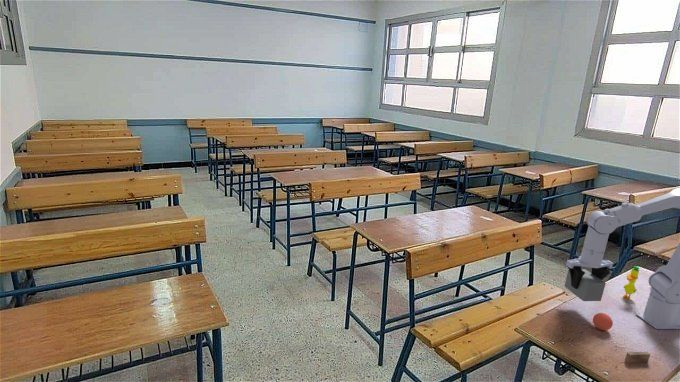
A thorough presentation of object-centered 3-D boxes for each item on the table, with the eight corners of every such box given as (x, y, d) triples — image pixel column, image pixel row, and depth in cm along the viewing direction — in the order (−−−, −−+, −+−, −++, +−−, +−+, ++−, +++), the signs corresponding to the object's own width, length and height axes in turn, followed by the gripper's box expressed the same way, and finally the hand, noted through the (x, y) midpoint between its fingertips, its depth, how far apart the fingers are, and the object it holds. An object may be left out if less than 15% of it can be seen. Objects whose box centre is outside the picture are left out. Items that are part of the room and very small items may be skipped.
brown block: (644, 359, 104) (647, 351, 103) (647, 362, 103) (650, 354, 102) (624, 360, 103) (627, 352, 103) (627, 362, 102) (630, 354, 102)
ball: (601, 323, 119) (605, 309, 118) (614, 333, 115) (618, 319, 113) (587, 323, 119) (591, 309, 117) (599, 334, 114) (603, 319, 113)
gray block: (580, 286, 129) (585, 269, 127) (600, 301, 121) (605, 282, 119) (564, 286, 128) (568, 269, 127) (583, 301, 120) (588, 283, 118)
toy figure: (627, 302, 132) (636, 271, 129) (616, 297, 135) (624, 266, 132) (636, 297, 136) (645, 267, 132) (625, 293, 139) (634, 263, 135)
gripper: (605, 243, 125) (594, 280, 128) (564, 243, 123) (555, 280, 127) (622, 253, 118) (611, 292, 122) (579, 252, 116) (569, 292, 120)
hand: (583, 287), depth 124 cm, fingers closed on gray block, 6 cm apart
